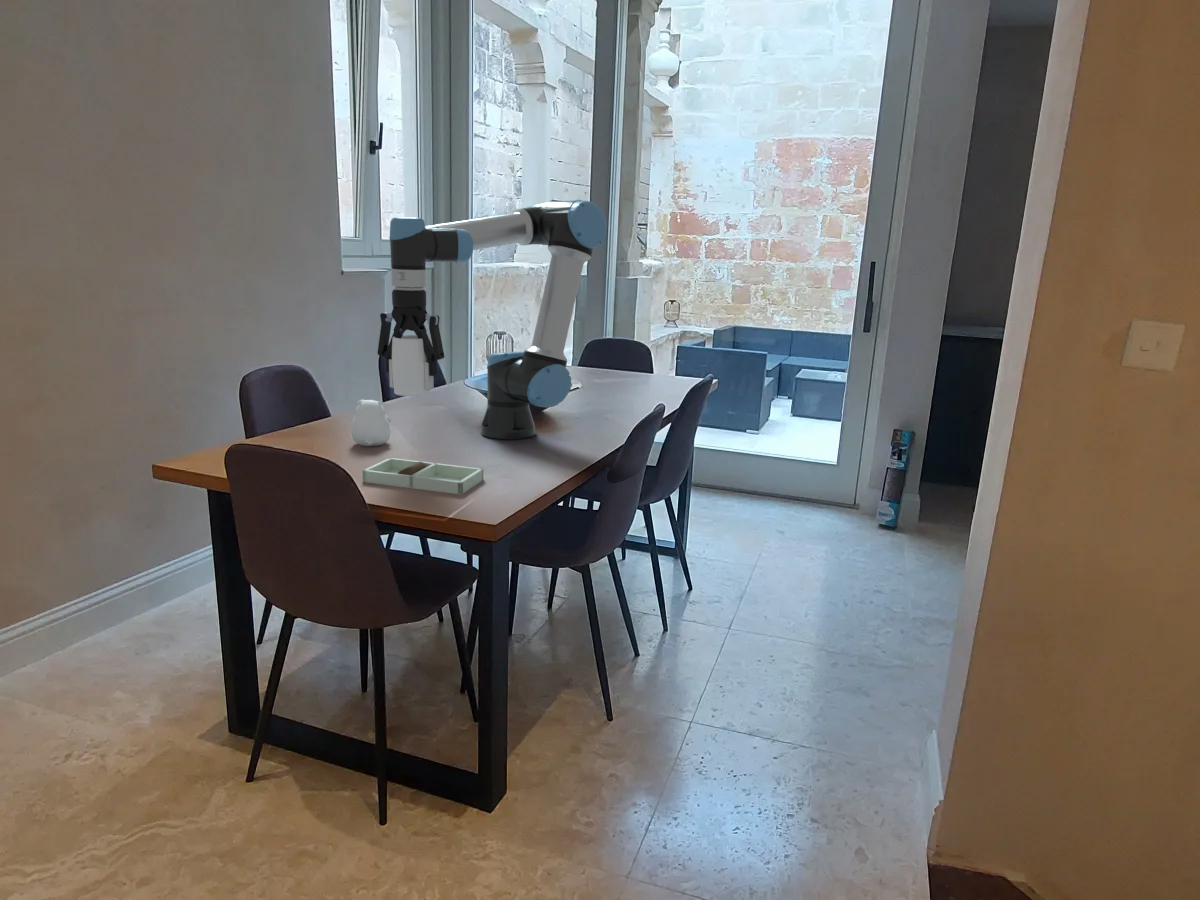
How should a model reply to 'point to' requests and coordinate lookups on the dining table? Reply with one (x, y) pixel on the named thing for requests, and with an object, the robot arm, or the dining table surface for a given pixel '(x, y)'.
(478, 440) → the dining table surface
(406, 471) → the dowel
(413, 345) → the cup
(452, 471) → the caddy
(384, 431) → the figurine
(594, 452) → the dining table surface
